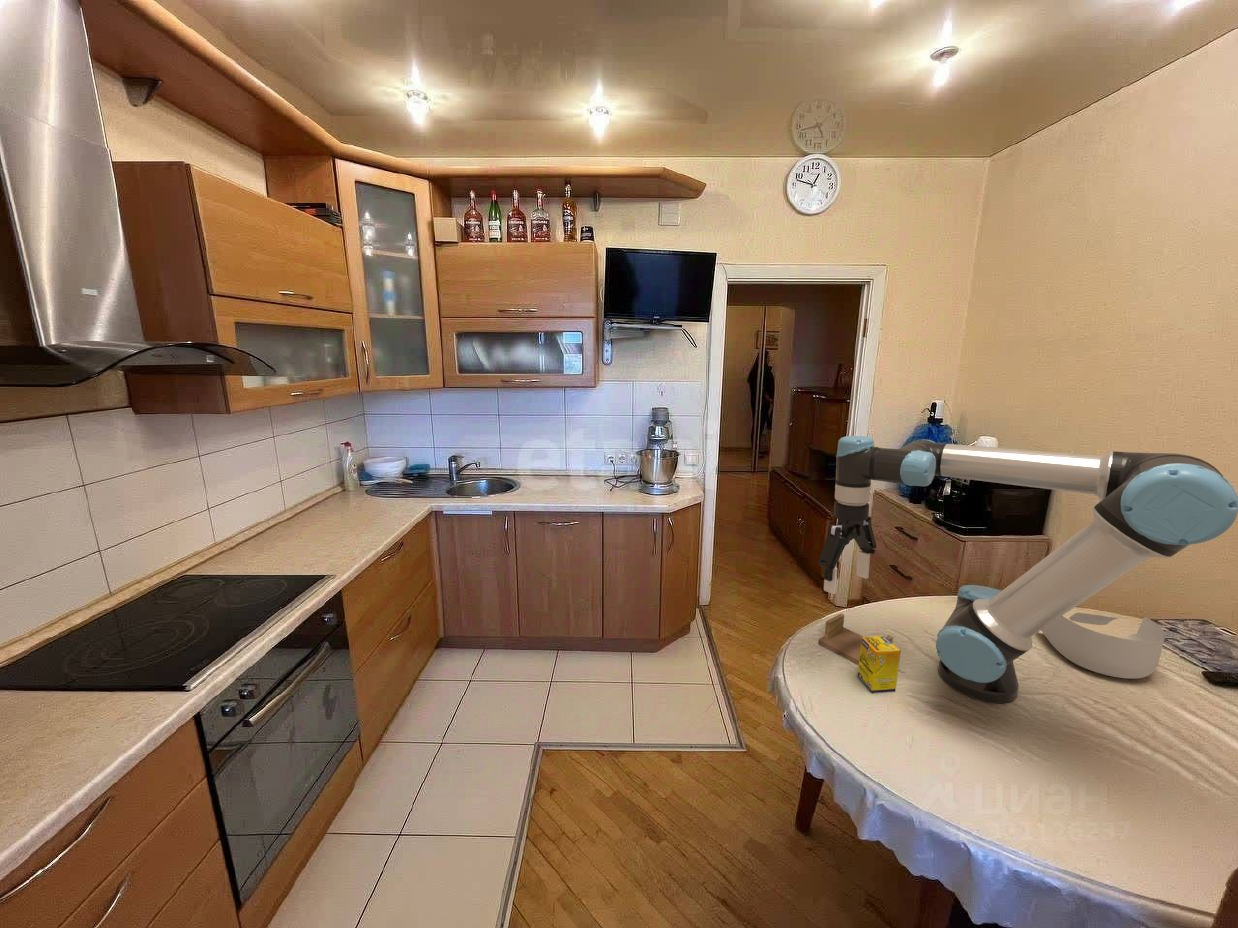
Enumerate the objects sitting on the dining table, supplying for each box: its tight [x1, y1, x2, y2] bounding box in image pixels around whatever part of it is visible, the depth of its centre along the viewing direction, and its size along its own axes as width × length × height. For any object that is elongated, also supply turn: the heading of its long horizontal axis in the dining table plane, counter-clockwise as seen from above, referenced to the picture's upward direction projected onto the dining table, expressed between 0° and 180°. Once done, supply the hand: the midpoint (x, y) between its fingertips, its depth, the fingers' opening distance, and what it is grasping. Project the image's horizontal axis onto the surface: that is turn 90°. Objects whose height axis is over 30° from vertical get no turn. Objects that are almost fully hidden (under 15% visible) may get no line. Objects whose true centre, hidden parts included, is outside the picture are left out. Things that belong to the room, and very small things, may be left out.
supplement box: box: [857, 635, 901, 694], centre depth 111 cm, size 6×6×11 cm
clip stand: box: [817, 613, 894, 666], centre depth 124 cm, size 15×11×6 cm
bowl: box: [1040, 612, 1166, 680], centre depth 118 cm, size 20×19×12 cm
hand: (846, 584), depth 117 cm, fingers open, 13 cm apart
